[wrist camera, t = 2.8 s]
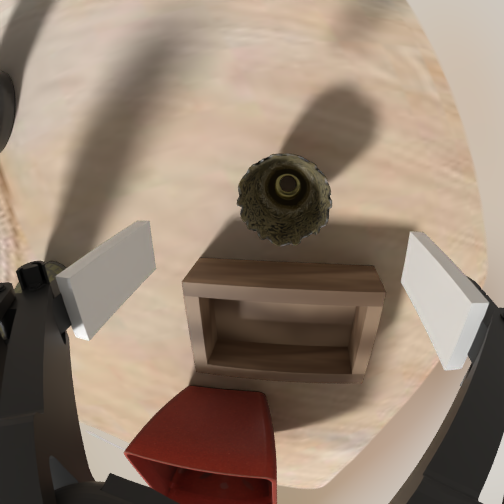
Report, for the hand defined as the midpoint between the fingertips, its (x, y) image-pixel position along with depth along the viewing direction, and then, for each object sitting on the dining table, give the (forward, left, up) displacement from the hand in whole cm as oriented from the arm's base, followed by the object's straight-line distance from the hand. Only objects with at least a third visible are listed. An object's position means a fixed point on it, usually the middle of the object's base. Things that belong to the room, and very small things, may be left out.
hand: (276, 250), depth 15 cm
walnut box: (+15, 0, -18) cm, 23 cm away
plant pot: (+37, -8, -18) cm, 42 cm away
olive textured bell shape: (0, 0, -18) cm, 18 cm away
